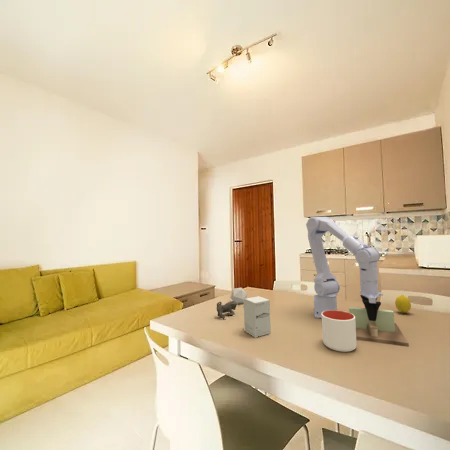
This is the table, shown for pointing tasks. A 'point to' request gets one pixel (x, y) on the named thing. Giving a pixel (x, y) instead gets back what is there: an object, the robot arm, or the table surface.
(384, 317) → the slotted plate
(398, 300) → the lemon
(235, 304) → the dog figurine
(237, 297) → the die
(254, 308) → the supplement box
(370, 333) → the base
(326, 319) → the cup
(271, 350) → the table surface
